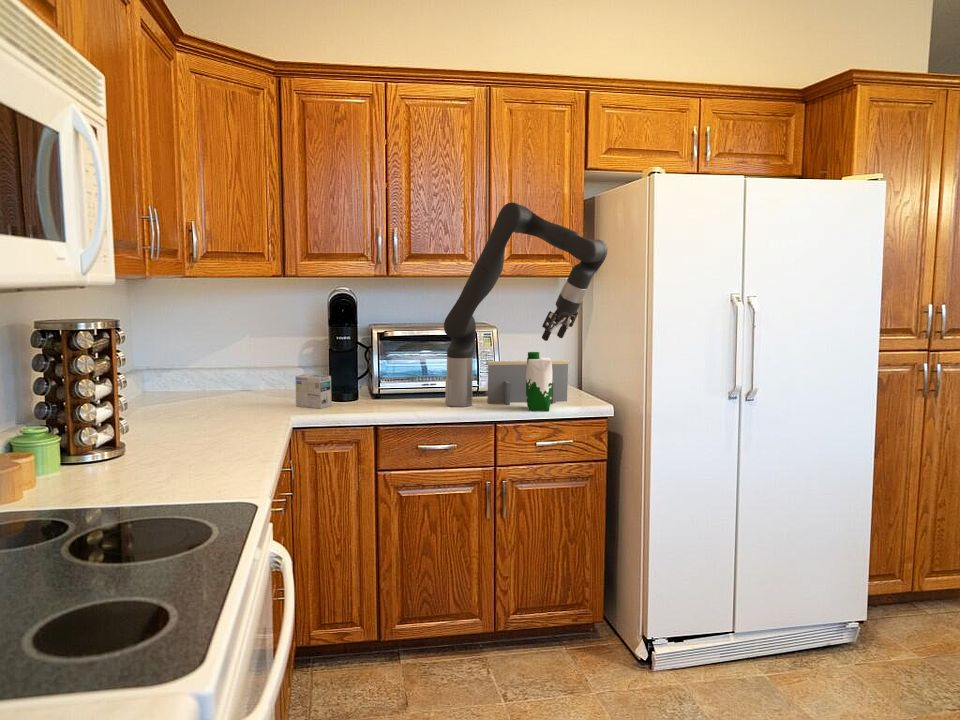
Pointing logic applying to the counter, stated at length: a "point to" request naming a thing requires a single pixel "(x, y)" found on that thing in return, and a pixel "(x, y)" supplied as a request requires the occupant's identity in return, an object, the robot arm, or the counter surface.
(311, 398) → the light bulb box
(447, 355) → the robot arm
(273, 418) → the counter surface
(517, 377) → the grey backboard
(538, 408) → the soya milk
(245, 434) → the counter surface
